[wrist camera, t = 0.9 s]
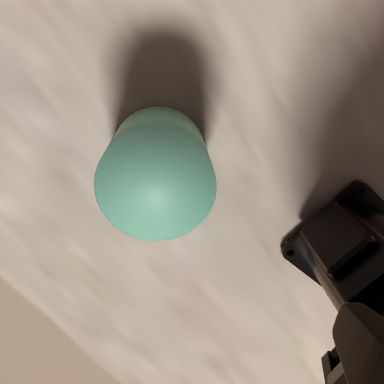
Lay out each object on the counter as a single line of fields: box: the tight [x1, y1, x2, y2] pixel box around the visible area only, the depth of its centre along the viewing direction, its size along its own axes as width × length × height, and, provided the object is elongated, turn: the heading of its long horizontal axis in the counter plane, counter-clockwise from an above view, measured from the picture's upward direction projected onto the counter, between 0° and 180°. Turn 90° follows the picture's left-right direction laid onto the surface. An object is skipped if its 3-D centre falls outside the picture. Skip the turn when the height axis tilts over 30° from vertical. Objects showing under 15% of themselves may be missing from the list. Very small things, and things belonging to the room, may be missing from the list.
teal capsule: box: [94, 106, 216, 241], centre depth 16 cm, size 5×5×5 cm
